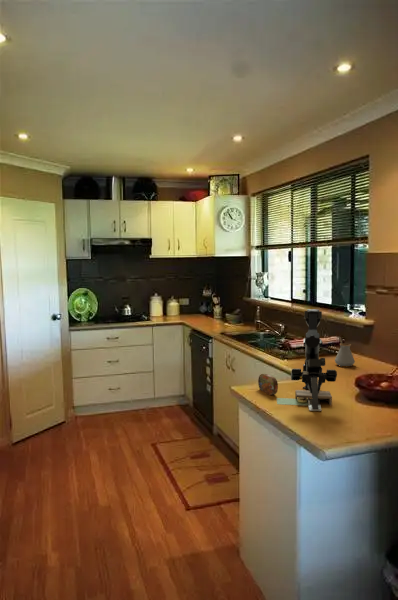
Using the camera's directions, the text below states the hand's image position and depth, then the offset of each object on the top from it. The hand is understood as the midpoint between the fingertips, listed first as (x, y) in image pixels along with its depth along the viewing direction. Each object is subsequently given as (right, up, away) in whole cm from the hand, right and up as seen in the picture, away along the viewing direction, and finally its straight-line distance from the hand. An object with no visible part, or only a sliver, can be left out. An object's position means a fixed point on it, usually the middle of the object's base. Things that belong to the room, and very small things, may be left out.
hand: (314, 392), depth 192 cm
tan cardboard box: (+3, -7, +14) cm, 16 cm away
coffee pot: (+39, 0, +88) cm, 97 cm away
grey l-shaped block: (+2, -7, +8) cm, 11 cm away
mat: (-6, -7, +14) cm, 17 cm away
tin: (-15, -6, +28) cm, 33 cm away
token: (-2, -7, +14) cm, 15 cm away
